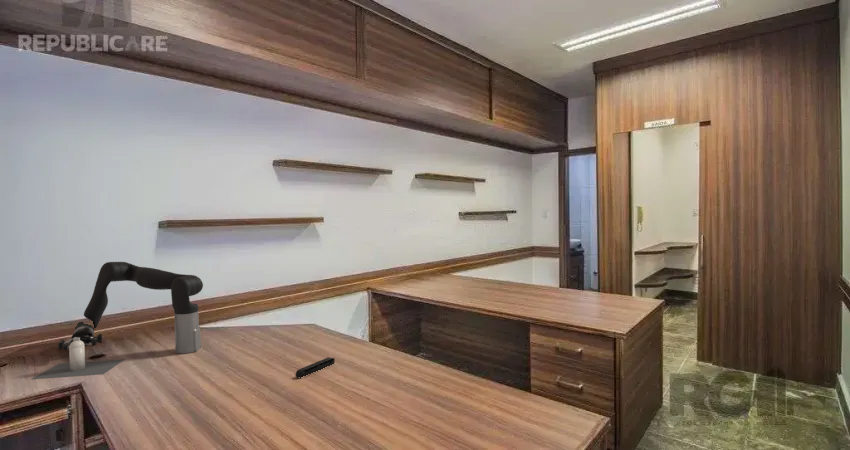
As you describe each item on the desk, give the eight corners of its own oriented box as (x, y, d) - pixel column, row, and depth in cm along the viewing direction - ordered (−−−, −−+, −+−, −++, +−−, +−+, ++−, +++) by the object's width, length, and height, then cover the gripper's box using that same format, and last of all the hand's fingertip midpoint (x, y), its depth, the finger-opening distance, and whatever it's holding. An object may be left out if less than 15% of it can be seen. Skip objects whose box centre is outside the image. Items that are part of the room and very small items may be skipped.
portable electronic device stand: (300, 379, 152) (300, 371, 152) (295, 378, 154) (295, 370, 154) (335, 364, 167) (335, 357, 167) (330, 363, 169) (330, 356, 169)
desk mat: (125, 360, 172) (125, 359, 172) (103, 375, 156) (103, 374, 156) (59, 364, 167) (59, 363, 167) (29, 380, 152) (29, 379, 152)
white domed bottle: (87, 366, 164) (86, 335, 164) (80, 370, 160) (79, 339, 159) (74, 367, 163) (73, 336, 163) (67, 371, 159) (65, 340, 158)
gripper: (61, 330, 179) (56, 340, 166) (102, 325, 187) (101, 334, 174) (61, 347, 179) (56, 358, 166) (103, 341, 188) (101, 351, 174)
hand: (79, 346), depth 170 cm, fingers open, 8 cm apart
